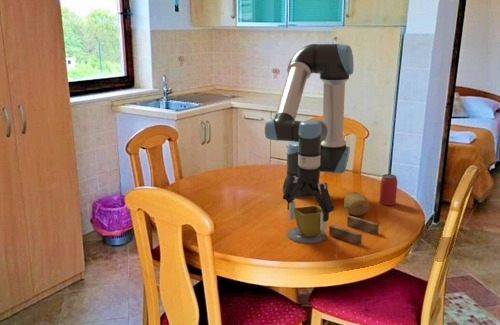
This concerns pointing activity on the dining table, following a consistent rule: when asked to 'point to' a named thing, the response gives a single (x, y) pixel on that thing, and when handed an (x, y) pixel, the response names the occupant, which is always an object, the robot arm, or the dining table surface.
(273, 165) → the dining table surface
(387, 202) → the beer can
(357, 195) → the potato
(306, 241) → the grey round disc
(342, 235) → the wooden blocks
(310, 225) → the flower pot
